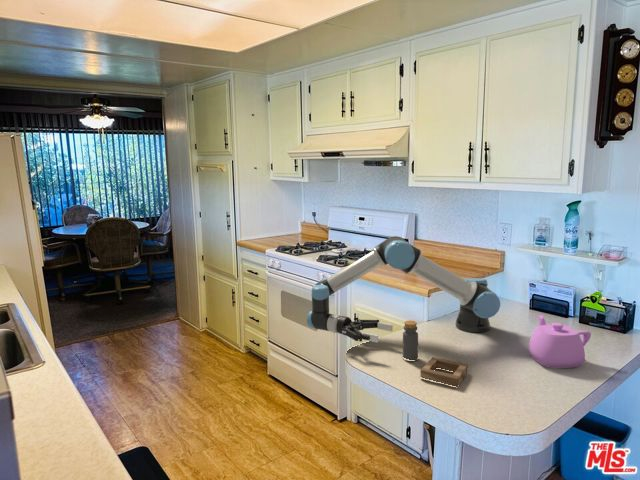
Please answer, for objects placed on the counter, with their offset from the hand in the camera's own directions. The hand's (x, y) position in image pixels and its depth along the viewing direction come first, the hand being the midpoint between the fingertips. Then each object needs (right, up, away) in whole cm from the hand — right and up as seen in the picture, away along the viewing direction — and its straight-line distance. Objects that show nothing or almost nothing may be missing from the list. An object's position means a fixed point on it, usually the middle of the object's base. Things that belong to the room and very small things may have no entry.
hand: (385, 333), depth 179 cm
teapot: (+63, -9, -10) cm, 64 cm away
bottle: (+9, -9, -4) cm, 14 cm away
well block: (+18, -11, -20) cm, 29 cm away
